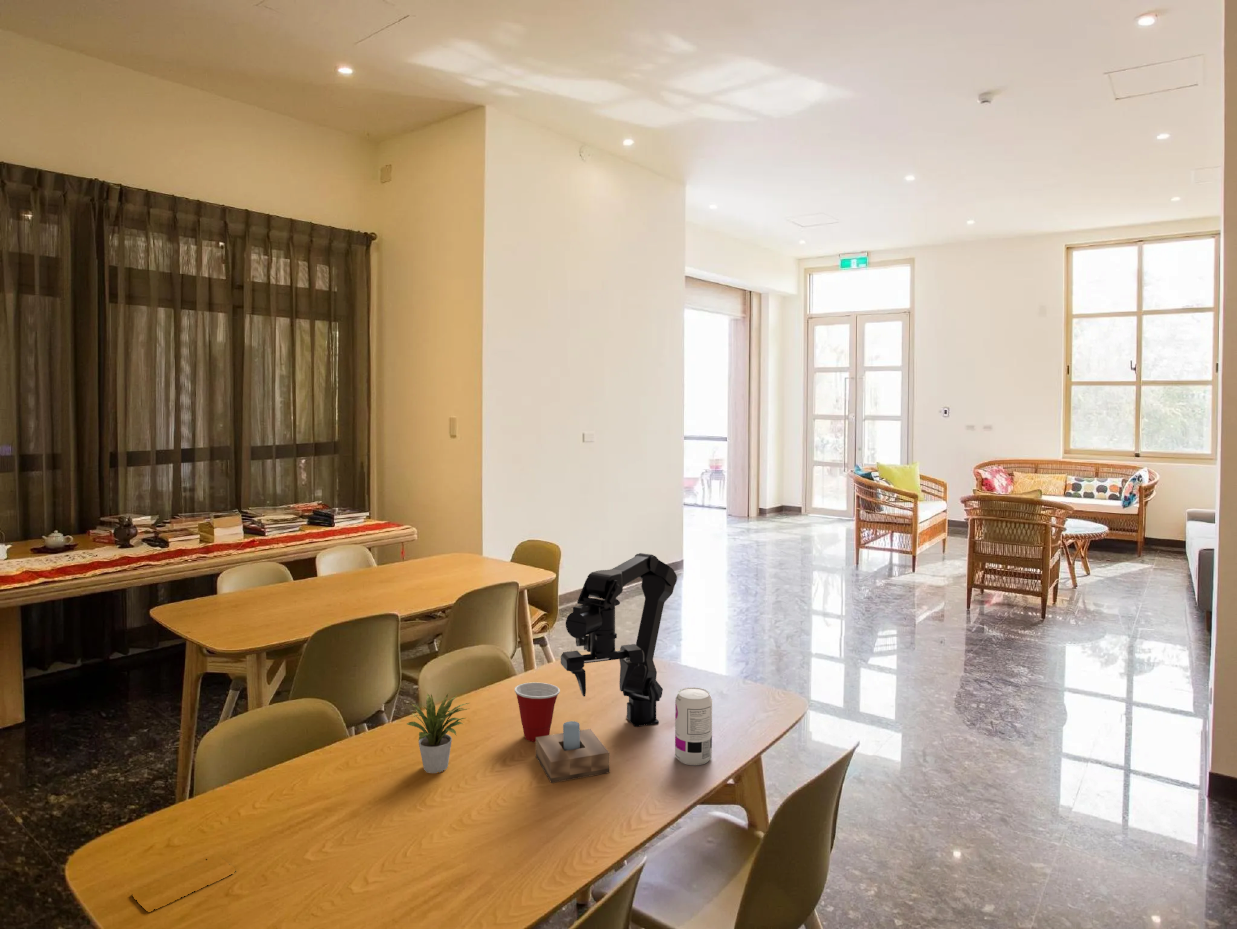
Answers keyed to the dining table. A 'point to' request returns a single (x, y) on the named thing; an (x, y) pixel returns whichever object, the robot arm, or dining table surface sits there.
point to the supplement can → (693, 726)
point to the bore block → (572, 757)
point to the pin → (571, 735)
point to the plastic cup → (536, 708)
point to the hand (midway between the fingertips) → (602, 693)
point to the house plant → (436, 734)
